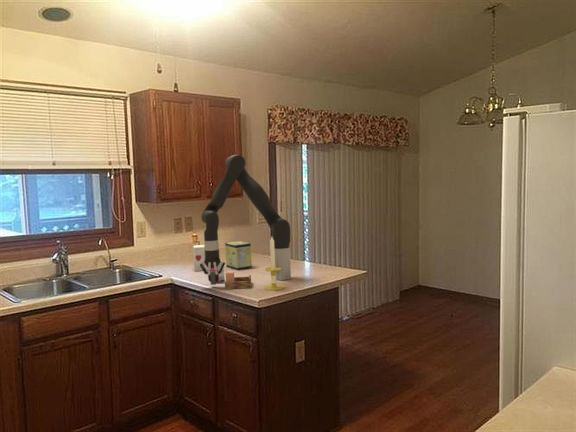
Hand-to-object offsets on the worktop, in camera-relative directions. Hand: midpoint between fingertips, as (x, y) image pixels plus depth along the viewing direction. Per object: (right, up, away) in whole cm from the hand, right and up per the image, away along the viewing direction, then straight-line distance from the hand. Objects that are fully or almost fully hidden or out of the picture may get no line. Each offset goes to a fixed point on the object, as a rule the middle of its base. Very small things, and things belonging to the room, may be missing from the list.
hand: (213, 281), depth 260 cm
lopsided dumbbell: (+5, -1, 0) cm, 5 cm away
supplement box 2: (0, -2, +15) cm, 15 cm away
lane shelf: (+13, -2, +1) cm, 13 cm away
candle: (+32, -3, -6) cm, 33 cm away
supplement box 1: (-15, +1, +50) cm, 52 cm away
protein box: (+8, +2, +51) cm, 52 cm away
